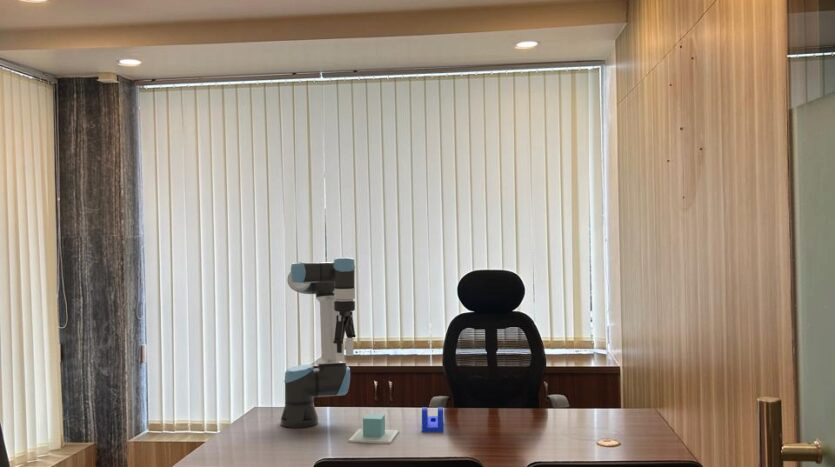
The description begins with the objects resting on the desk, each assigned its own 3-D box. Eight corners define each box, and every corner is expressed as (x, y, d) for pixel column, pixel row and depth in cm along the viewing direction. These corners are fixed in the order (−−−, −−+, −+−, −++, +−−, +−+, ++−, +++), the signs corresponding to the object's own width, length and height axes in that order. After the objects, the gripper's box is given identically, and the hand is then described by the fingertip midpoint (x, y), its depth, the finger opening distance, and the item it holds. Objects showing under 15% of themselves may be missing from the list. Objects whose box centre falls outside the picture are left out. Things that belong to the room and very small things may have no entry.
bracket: (443, 432, 301) (442, 409, 301) (421, 432, 302) (421, 409, 302) (443, 421, 319) (443, 399, 319) (423, 421, 320) (423, 399, 320)
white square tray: (358, 430, 304) (358, 428, 304) (398, 432, 302) (398, 430, 302) (348, 442, 288) (348, 439, 288) (390, 443, 286) (390, 441, 286)
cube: (367, 432, 299) (367, 414, 299) (384, 432, 298) (384, 414, 298) (363, 436, 292) (362, 418, 292) (381, 437, 291) (381, 419, 291)
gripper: (343, 296, 293) (343, 352, 293) (324, 303, 268) (325, 364, 268) (362, 297, 291) (363, 353, 292) (345, 303, 267) (346, 364, 267)
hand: (345, 358), depth 280 cm, fingers open, 13 cm apart
